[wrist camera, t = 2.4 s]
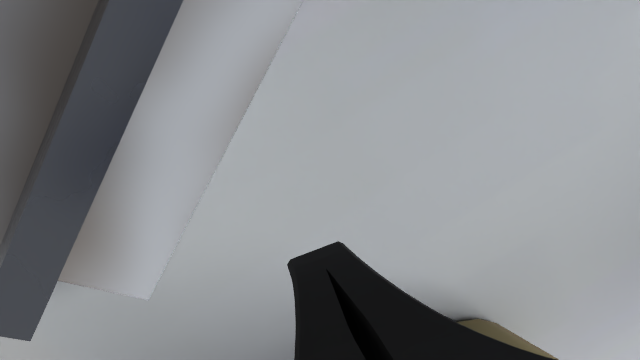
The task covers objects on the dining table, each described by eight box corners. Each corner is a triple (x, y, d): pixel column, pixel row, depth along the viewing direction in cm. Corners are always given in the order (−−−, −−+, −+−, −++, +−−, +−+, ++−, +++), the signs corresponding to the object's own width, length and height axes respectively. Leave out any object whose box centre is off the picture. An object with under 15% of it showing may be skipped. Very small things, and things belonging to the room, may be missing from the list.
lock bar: (163, -313, 11) (181, -376, 8) (302, -208, 13) (361, -228, 10) (-46, 245, 15) (-85, 342, 12) (79, 274, 17) (72, 366, 14)
